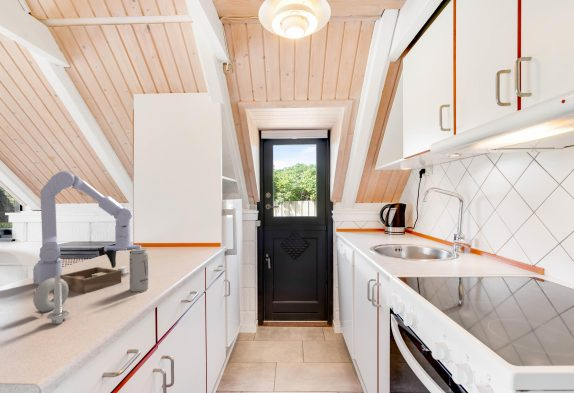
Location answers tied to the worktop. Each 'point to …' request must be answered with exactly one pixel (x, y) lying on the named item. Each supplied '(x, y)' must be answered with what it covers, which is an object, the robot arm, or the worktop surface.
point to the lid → (123, 269)
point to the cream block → (98, 274)
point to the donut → (43, 292)
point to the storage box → (91, 279)
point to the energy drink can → (138, 270)
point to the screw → (57, 303)
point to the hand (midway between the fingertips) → (123, 267)
